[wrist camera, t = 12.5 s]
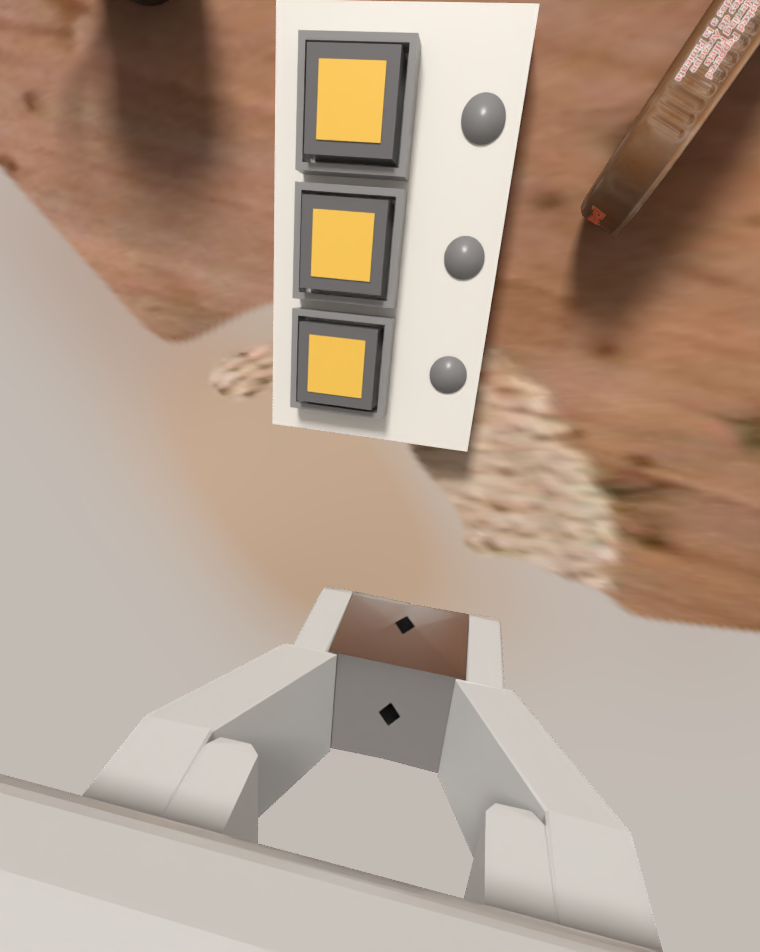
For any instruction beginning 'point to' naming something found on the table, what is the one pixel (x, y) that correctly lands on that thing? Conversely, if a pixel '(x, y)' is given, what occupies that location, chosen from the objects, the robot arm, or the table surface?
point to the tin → (675, 111)
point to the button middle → (345, 244)
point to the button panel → (406, 207)
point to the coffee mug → (149, 2)
